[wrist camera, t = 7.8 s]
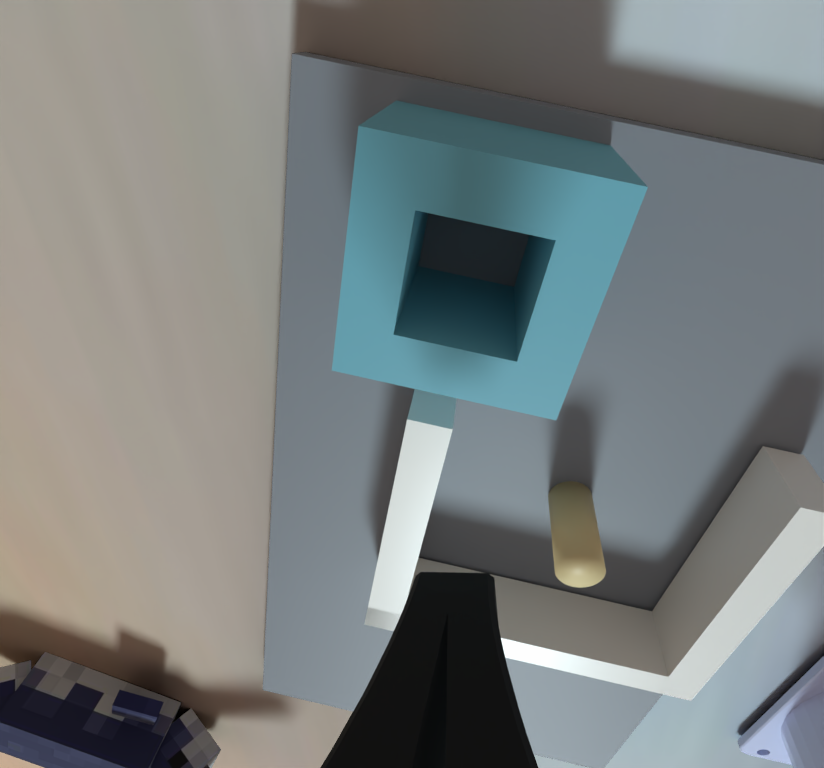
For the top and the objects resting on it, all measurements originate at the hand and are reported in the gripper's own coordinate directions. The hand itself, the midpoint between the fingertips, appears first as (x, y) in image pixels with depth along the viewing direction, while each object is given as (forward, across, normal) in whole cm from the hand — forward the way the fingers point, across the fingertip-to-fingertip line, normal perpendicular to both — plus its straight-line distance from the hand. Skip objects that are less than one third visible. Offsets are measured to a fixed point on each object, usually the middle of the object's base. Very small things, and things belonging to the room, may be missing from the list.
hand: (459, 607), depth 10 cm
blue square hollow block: (+8, 0, -5) cm, 9 cm away
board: (+8, 0, +7) cm, 11 cm away
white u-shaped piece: (+7, -2, +5) cm, 9 cm away
